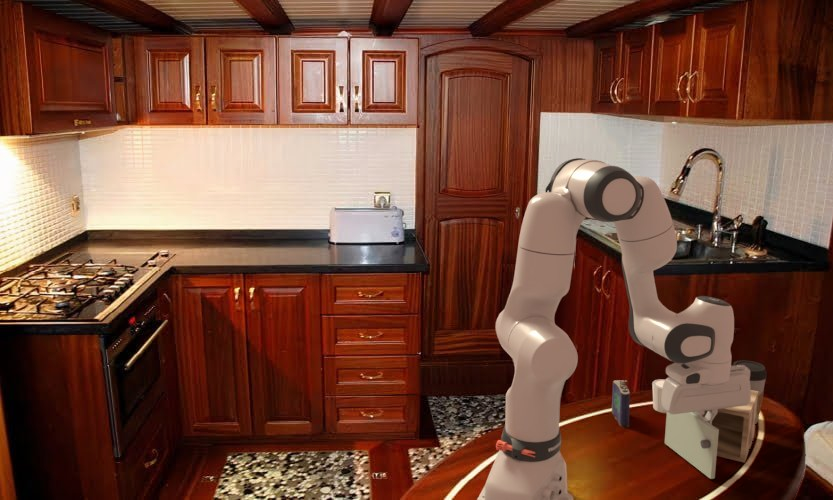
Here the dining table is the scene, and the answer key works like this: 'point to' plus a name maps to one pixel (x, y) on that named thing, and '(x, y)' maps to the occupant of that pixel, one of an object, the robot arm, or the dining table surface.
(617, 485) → the dining table surface
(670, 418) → the side door
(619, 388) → the flask
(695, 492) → the dining table surface
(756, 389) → the coffee cup
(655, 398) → the white cylinder
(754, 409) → the oak cabinet
